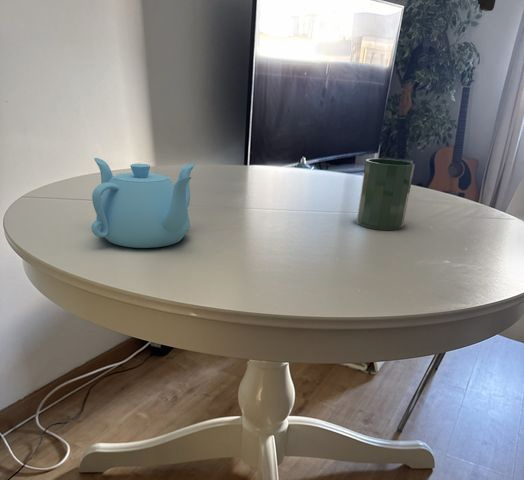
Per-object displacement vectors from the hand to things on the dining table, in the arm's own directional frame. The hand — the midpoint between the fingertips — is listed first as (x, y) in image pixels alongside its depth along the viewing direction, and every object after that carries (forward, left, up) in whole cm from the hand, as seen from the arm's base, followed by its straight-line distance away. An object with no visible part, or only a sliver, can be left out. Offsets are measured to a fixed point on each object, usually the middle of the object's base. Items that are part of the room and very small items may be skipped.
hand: (519, 7), depth 56 cm
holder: (-4, -18, -30) cm, 35 cm away
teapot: (+35, -29, -30) cm, 55 cm away
